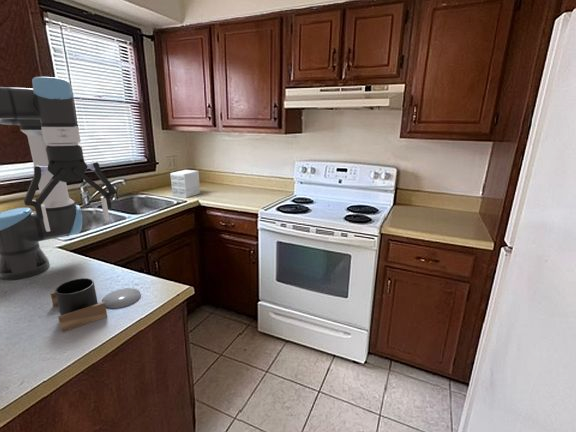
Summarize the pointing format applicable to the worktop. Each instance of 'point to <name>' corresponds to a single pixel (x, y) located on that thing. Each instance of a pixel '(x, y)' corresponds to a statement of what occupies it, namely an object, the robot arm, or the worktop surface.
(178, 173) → the supplement box
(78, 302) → the mug
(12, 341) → the worktop surface
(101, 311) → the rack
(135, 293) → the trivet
